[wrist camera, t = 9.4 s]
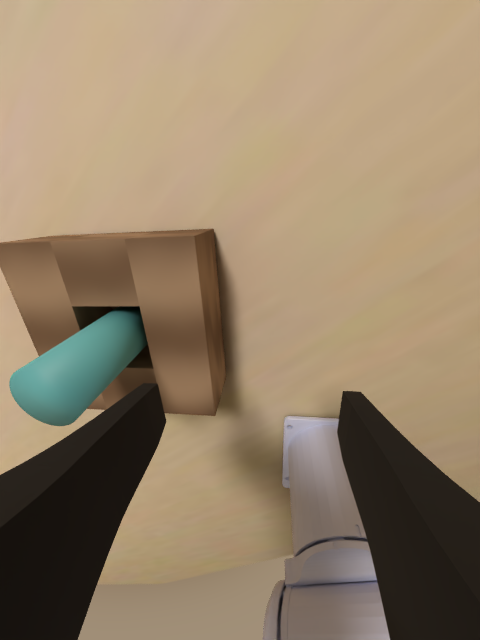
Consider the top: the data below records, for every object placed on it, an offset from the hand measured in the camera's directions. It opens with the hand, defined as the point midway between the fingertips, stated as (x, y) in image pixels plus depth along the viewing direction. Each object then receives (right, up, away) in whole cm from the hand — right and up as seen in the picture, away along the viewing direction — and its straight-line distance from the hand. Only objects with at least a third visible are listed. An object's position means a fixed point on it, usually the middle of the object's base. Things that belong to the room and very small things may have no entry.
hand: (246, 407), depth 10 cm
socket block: (-8, +4, +10) cm, 13 cm away
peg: (-8, +4, +9) cm, 12 cm away
